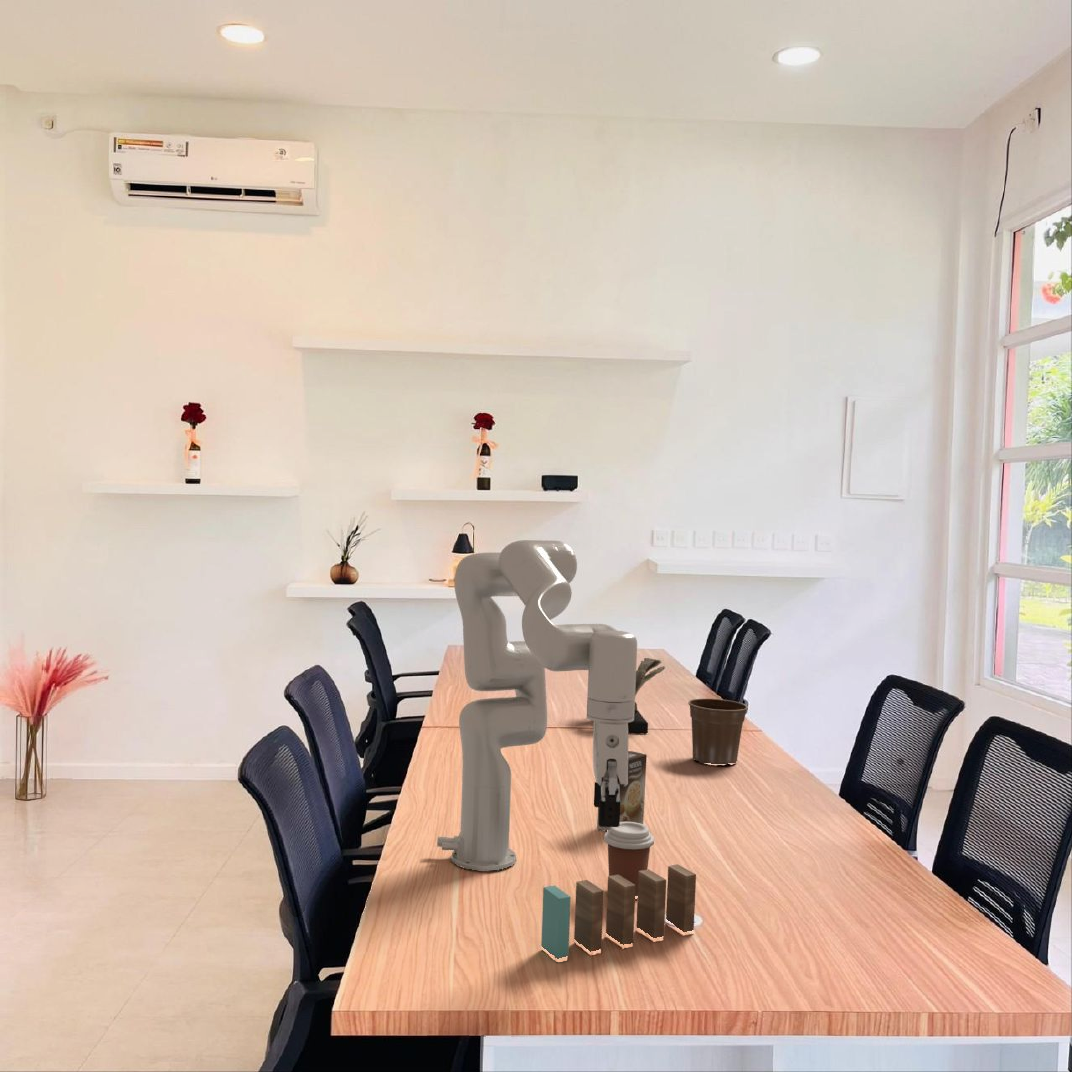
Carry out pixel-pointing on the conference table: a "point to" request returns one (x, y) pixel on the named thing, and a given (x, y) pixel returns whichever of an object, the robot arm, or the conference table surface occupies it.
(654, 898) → the domino
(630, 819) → the coffee box
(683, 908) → the domino
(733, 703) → the plant pot
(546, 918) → the teal domino
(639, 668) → the coral
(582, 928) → the domino
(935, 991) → the conference table surface
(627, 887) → the domino
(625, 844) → the coffee cup
